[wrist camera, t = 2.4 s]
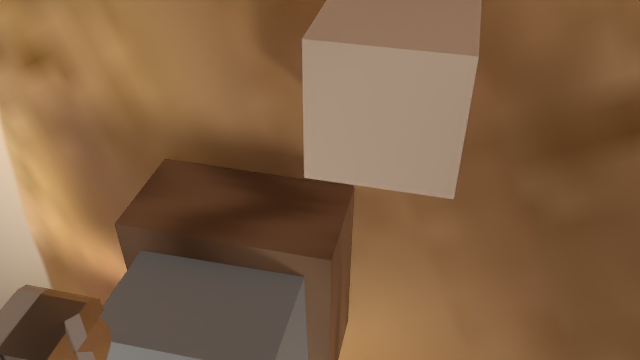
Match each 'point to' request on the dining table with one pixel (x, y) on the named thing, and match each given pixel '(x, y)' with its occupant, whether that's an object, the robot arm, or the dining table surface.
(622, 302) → the dining table surface
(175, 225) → the tan wooden block
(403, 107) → the cream cube
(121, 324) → the grey square block
